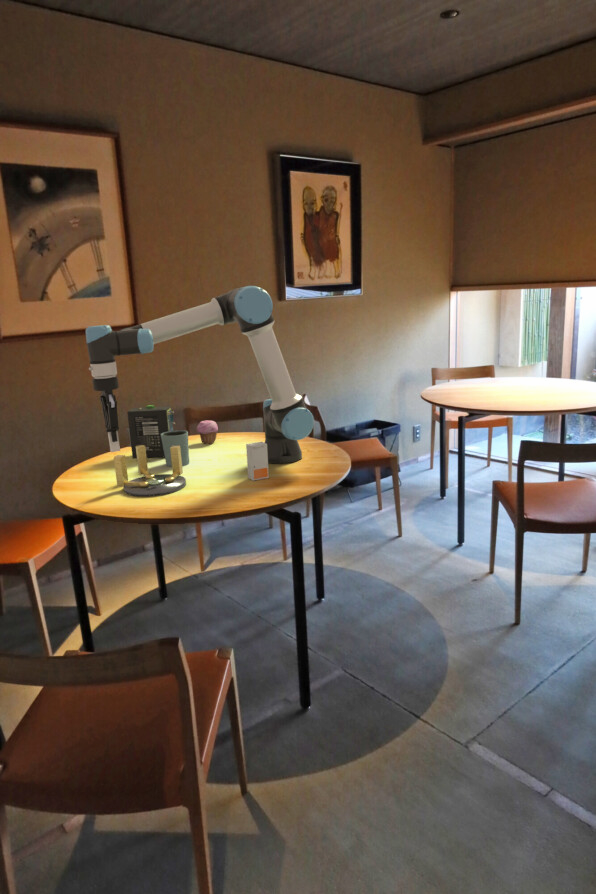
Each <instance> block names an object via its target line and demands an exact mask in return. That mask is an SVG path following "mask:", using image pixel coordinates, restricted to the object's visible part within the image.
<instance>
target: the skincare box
mask: <svg viewBox="0 0 596 894" xmlns="http://www.w3.org/2000/svg"><path fill="white" fill-rule="evenodd" d="M245 445H246V446H245V447H246V448H245V449H246V463H247V465H246V466H247V478H248V479H249V480H251V481H259V480H265V479H269V478H270V477H269V463H268V452H267V444H266V443H265V441H258V442H257V441H256V442H251V443H246V444H245Z"/></svg>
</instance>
